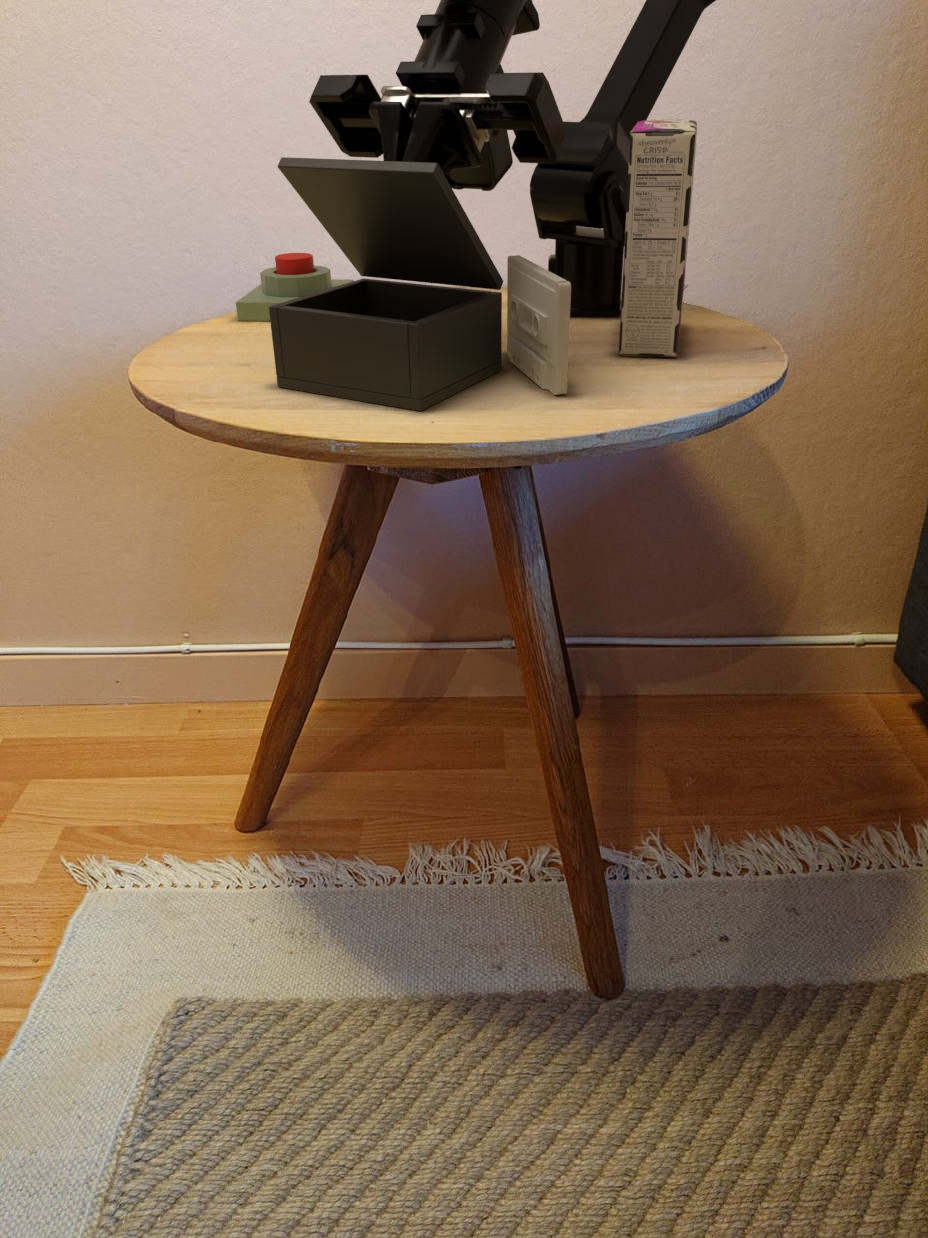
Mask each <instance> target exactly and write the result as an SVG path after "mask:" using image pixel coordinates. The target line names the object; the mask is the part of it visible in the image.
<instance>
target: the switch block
mask: <svg viewBox="0 0 928 1238" xmlns="http://www.w3.org/2000/svg"><path fill="white" fill-rule="evenodd" d="M259 275H260V276H259V277H260V284H259V285H257V286H256V287H254V288H253V289H252V290H251V291H249V292H248V293H246V294H245V295H243V296H242V297H241V298H239V299H238V300H236V301H235V308H236V315H237V321H239V322H241V321H246V322H251V321H252V322H254V321H255V322H260V321H261V322H270V314H269V306H272V305H276V304H279V303H282V302H286V301H289V300H293V299H296V298H299V297H303V296H306V295H309V294H313V293H316V292H319V291H323V290H326V289H329V288H333V287H336V286H340V285H343V284H346V283H350V282H353V281H355V280H354V279H339V278H338V279H337V278H336V279H332V273H331V269H330V268H329V267H327V266H323V265H315V264H314V272H313V273H309V274H301V275H281V274H277V273H276V266H273V267H268V268H265V269H264V270H262V271H261V272H260V273H259Z"/></svg>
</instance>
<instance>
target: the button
mask: <svg viewBox="0 0 928 1238" xmlns="http://www.w3.org/2000/svg"><path fill="white" fill-rule="evenodd" d="M274 261H275V267H276V273H277V274H281V275H301V274H309V273H313V272H314V265H315V264H314V263H315V262H314V256H313V253H309V252H308V253H307V252H287V253H286V252H285V253H281V254H277V255H275V256H274Z"/></svg>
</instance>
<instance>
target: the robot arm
mask: <svg viewBox="0 0 928 1238" xmlns="http://www.w3.org/2000/svg"><path fill="white" fill-rule="evenodd" d="M716 1H717V0H645V2H644V3H643V5H642V8H641V10H640V12H639V14H638V15H637V17H636V19H635V21H634V23H633V25H632V26H631V28H630V31H629V32H628V34H627V37H626V38H625V39H624V42H623V44H622V46H621V48H620V50H619V51H618V54H617V56H616V57H615V59H614V61H613V63H612V65H611V67H610V69H609V71H608V72H607V75H606V76H605V79H604V80H603V82H602V84H601V86H600V88H599V90H598V91H597V93H596V95H595V97H594V100H593V102H592V103H591V105H590V107H589V109H588V111H587V113H586V114H585V116H584V117H583V118H582V119H581V120H579V121H564V120H563V118H562V115H561V112H560V109H559V107H558V104H557V101H556V98H555V95H554V92H553V90H552V87H551V85H550V81H549V80H548V78H547V77H546V75H545V73H544V72H539V71H538V72H505V71H504V69H503V67H502V61H503V59H504V56H505V53H506V51H507V49H508V46H509V44H510V41H511V40H512V36H517V35H522V34H527V33H532V32H536V31H539V30H540V28H541V27H540V26H541V23H540V17H539V13H538V11H537V8H536V7H535V5H534V2H533V0H440V1H439V3H438V6H437V8H436V10H435V13H432V14H421V15H420V16H419V19H418V21H417V23H416V29H417V31H418V33H419V35H420V37H421V40H422V42H421V45H420V47H419V49H418V51H417V54H416V56H415V58H414V60H413V61H411V60H410V61H400V63H399V65H398V66H397V69H396V71H395V76H396V77H397V79H398V81H399V83H400V85H383V86H382V87H381V89H380V93H381V95H382V96H381V95H380V94H379V92H378V90H377V89H376V87H375V85H374V83H373V82H372V79H371V78H370V76H369V74H323V75H320V76H319V78H318V80H317V82H316V85H315V87H314V89H313V91H312V93H311V95H310V98H309V101H308V103H309V104H310V105H311V107H312V108H313V110H314V111H315V113H316V115H317V116H318V117H319V119H320V121H321V123H322V124H323V126H324V127H325V129H326V130H327V132H328V133H329V134H330V136H331V138H332V140H334V142H335V143H336V145H337V146H338V148H339V150H340V151H341V152H342V153H344V154H345V155H347V156H348V157H350V158H372V159H378V158H380V157H381V156H382V157H383V161H400V162H428V163H438V164H439V166H440V168H441V170H442V172H443V173H444V175H445V177H446V179H447V181H448V182H449V184H450V186H451V188H452V190H458V191H461V190H464V189H466V190H467V189H469V190H481V191H482V192H490V191H493V190H494V189H495V188H496V187H497V185H498V184H499V183H500V181H501V180H502V179H503V178H504V177H505V175H506V174H507V173H508V171H509V170H510V169H511V168H512V167H513V162H514V161H513V160H514V159H513V155H514V156H515V158H516V159H517V161H518V162H519V163H521V164H536V166H535V168H534V170H533V172H532V174H531V177H530V181H529V196H530V201H531V206H532V211H533V215H534V220H535V225H536V230H537V234H538V235H537V236H538V239H540V240H555V241H554V242H555V244H554V245H555V246H554V247H555V248H554V254H550V255H549V256H548V262H547V263H548V265H547V270H548V271H550V272H552V273H554V274H555V275H557V276H559V277H561V278H563V279H565V280H567V281H569V282H570V283H571V303H570V316H621V301H622V282H623V262H624V245H625V226H626V205H627V184H628V171H629V152H630V132H631V131H632V129H633V128H634V127H635V125H636V124H637V122H638V121H644V120H648V118H649V117H650V115H651V112H652V110H653V109H654V106H655V105H656V103H657V100H658V99H659V97H660V95H661V93H662V91H663V89H664V88H665V85H666V83H667V82H668V79H669V77H670V76H671V74H672V72H673V70H674V68H675V66H676V64H677V63H678V60H679V58H680V57H681V54H682V53H683V50H684V49H685V47H686V45H687V43H688V41H689V39H690V37H691V36H692V33H693V31H694V30H695V27H696V26H697V24H698V22H699V20H700V18H701V17H702V14H703V12H704V11H705V10H706V9H707V8H708V7H710V6H711V5H712V4H714V3H715V2H716ZM508 131H513V134H514V136H515V138H514V140H513V143H512V145H511V143H510V139H509V132H508ZM512 153H513V154H512Z"/></svg>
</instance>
